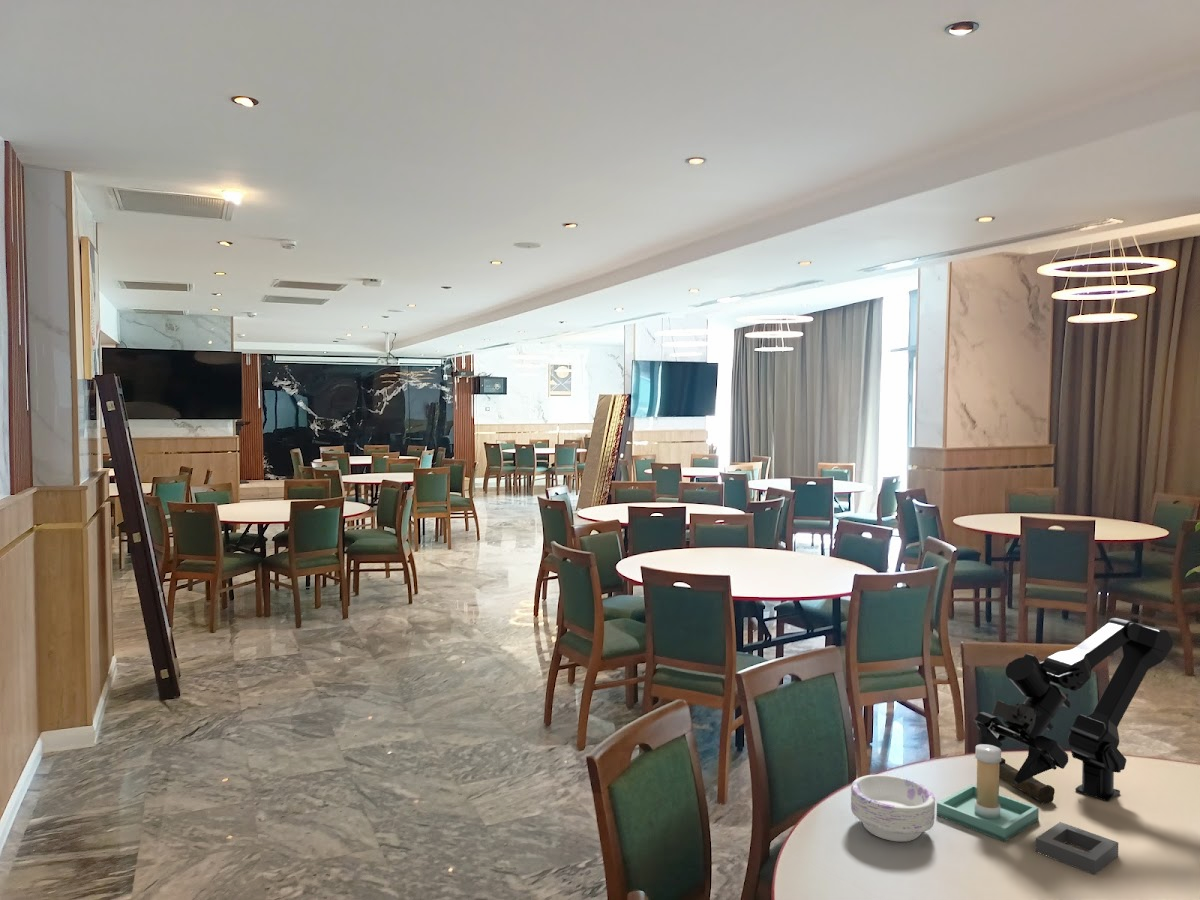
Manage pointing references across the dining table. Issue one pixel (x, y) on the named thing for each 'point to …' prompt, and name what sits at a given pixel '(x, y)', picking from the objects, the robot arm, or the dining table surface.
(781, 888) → the dining table surface
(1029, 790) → the dark brown rod
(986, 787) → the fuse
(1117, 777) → the dining table surface
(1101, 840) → the frame
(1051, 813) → the dining table surface
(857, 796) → the paper bowls
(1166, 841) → the dining table surface
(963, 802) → the parts tray
